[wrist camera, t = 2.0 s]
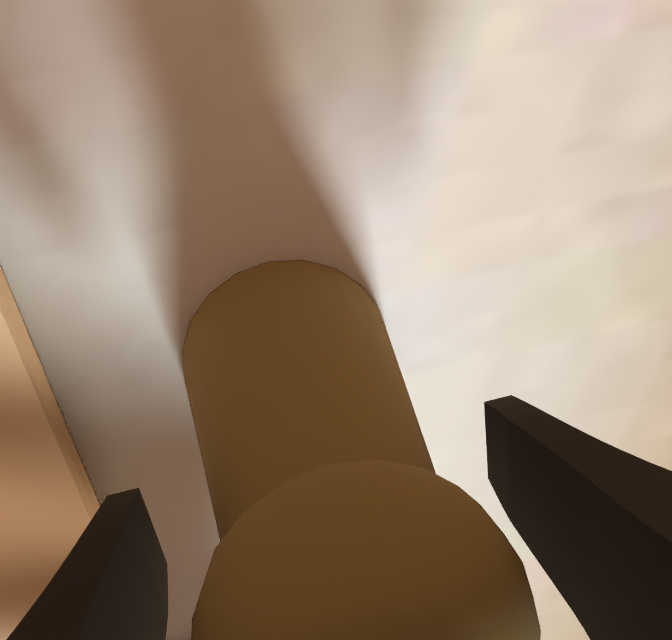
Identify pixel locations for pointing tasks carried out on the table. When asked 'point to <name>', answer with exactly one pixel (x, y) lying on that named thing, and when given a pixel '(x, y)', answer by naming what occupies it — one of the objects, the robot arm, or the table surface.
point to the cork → (331, 478)
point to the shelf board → (33, 474)
